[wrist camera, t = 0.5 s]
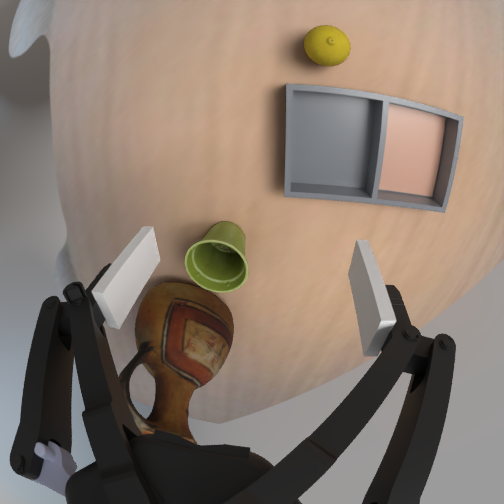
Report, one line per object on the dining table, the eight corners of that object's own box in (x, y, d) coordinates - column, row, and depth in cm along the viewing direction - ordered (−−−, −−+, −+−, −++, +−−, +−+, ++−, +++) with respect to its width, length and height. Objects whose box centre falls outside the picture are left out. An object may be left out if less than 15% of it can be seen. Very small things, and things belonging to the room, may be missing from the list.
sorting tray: (286, 84, 31) (286, 83, 28) (448, 112, 28) (463, 116, 25) (284, 185, 40) (284, 196, 36) (432, 200, 37) (444, 212, 33)
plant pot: (262, 221, 44) (256, 252, 36) (247, 266, 49) (239, 300, 42) (206, 204, 43) (189, 231, 36) (197, 250, 48) (181, 282, 41)
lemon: (340, 72, 29) (354, 68, 22) (300, 64, 29) (303, 57, 23) (345, 37, 26) (359, 25, 19) (304, 28, 26) (308, 14, 20)
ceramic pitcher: (203, 346, 65) (170, 456, 40) (136, 299, 59) (78, 410, 34) (258, 314, 56) (234, 456, 31) (179, 253, 49) (104, 398, 25)
